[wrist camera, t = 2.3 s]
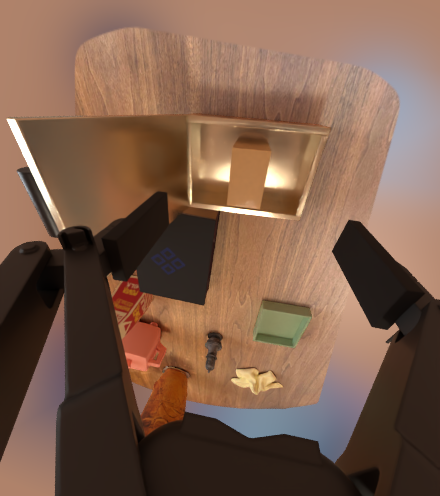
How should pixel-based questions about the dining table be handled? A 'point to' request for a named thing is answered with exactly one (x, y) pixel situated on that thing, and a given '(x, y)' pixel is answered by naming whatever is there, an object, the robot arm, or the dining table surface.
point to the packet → (248, 173)
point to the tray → (281, 323)
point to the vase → (166, 400)
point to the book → (182, 258)
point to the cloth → (255, 380)
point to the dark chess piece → (212, 349)
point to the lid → (101, 166)
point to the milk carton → (129, 304)
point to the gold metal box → (279, 170)
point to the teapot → (143, 346)
